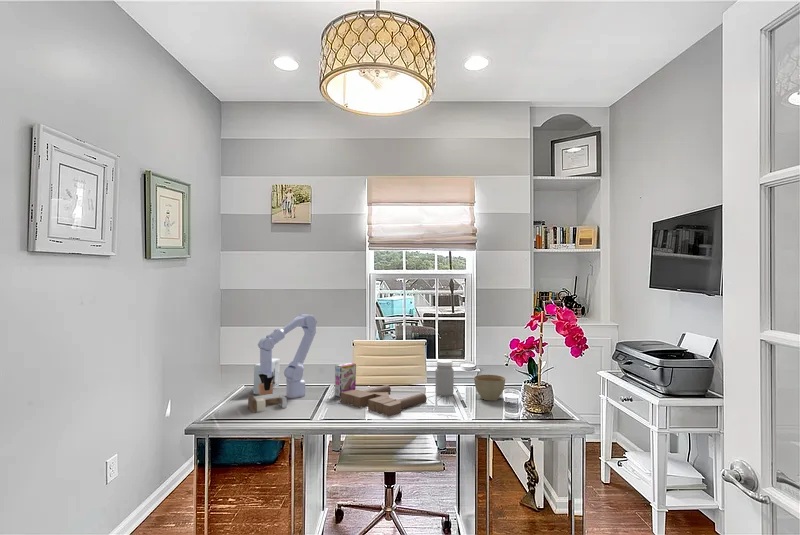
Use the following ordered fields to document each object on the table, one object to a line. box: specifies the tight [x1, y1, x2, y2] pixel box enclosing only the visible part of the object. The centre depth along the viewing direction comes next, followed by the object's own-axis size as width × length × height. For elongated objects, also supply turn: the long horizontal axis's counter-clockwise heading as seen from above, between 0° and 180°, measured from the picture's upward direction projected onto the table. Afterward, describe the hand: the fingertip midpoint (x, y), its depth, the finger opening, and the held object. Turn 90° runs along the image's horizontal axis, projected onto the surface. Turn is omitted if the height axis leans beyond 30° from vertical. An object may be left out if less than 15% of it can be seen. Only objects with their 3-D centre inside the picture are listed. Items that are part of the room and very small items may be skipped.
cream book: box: [254, 396, 266, 413], centre depth 220 cm, size 4×6×5 cm, turn 30°
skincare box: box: [252, 357, 281, 395], centre depth 260 cm, size 21×6×16 cm, turn 168°
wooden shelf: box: [247, 394, 279, 414], centre depth 223 cm, size 18×10×7 cm, turn 120°
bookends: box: [340, 384, 428, 417], centre depth 236 cm, size 35×6×29 cm
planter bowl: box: [473, 374, 506, 401], centre depth 244 cm, size 16×16×11 cm
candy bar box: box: [334, 362, 357, 398], centre depth 250 cm, size 11×5×16 cm, turn 139°
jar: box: [434, 359, 455, 397], centre depth 251 cm, size 10×10×18 cm
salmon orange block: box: [258, 383, 274, 396], centre depth 234 cm, size 4×6×5 cm, turn 120°
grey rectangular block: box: [278, 394, 288, 409], centre depth 225 cm, size 2×6×4 cm, turn 29°
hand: (266, 389), depth 234 cm, fingers closed on salmon orange block, 4 cm apart
